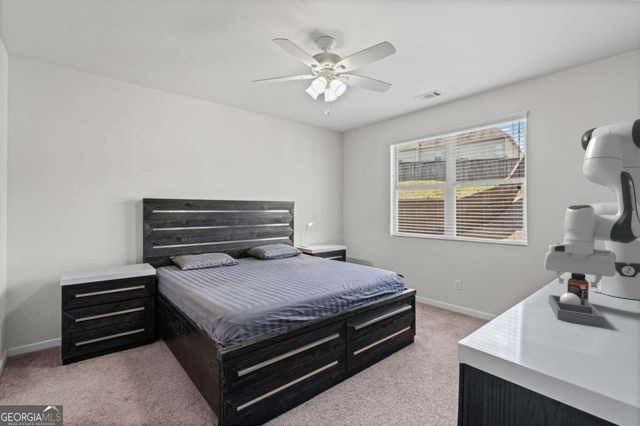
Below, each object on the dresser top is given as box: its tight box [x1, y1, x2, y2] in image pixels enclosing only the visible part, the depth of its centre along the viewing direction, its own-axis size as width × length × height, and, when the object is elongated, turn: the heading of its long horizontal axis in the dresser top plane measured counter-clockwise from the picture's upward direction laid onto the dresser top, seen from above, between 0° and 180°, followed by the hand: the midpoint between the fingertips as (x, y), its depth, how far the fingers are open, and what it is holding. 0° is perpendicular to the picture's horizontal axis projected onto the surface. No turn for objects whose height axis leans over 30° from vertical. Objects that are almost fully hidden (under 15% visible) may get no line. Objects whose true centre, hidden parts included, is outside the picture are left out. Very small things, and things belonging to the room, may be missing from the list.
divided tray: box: [548, 294, 604, 328], centre depth 100 cm, size 20×11×4 cm, turn 149°
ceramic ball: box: [560, 292, 581, 305], centre depth 104 cm, size 6×6×6 cm
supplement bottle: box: [566, 273, 590, 301], centre depth 112 cm, size 6×6×11 cm
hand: (577, 285), depth 112 cm, fingers open, 8 cm apart
